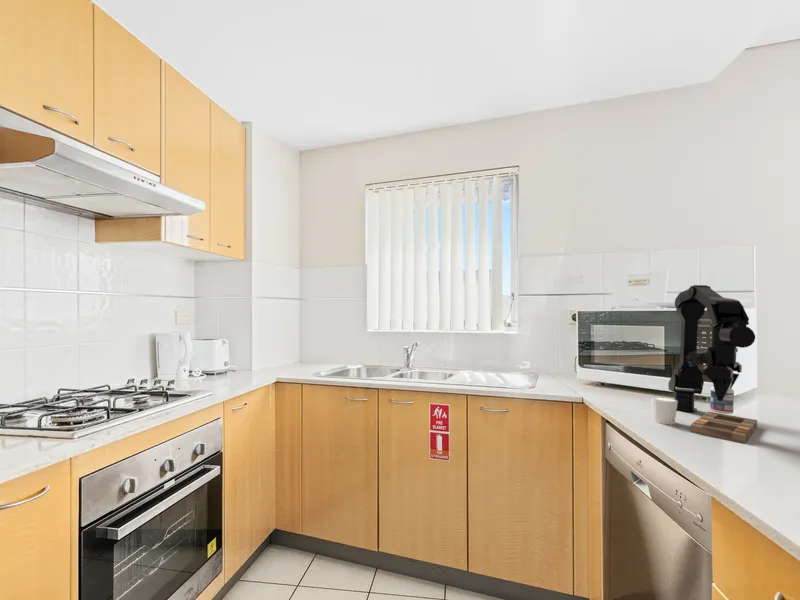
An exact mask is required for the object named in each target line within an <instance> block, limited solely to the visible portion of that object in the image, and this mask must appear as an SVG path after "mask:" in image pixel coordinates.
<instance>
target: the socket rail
mask: <svg viewBox="0 0 800 600" xmlns="http://www.w3.org/2000/svg"><path fill="white" fill-rule="evenodd" d="M757 427H758V419H752V418H747V417H743V416H742V417H741V416H736V415H731V414H724V413H718V412H714V411H707V412H706V413H705V414H703V415H702V416H701V417H699V418H697V419H696V420H694V421H693V422H692V423H691V424H690V433H693V432H695V433H694V434H698V433H699V434H700V435H703V434H704V436H708V437H712V436H713V438H717V437H718V439H722V438H723V440H728V441H732V442H737V443H742V444H746V442H747V441H748V439H749V438H750V437H751V435H752V434H753V433H754V432H755V430H756V429H757Z"/></svg>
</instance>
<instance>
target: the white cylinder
mask: <svg viewBox="0 0 800 600" xmlns="http://www.w3.org/2000/svg"><path fill="white" fill-rule="evenodd" d="M674 399H675V398H674ZM674 399H673V398H670V397H661V396H652V397H651V399H650V400H651V409H652V412H651V413H652V421H653V422H654V423H658V424H662V425H668V424H669V426H672V424H673V425H675V424H676V416H677V411H678V410H677V404H678V401H677V400H674Z"/></svg>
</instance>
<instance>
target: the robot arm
mask: <svg viewBox="0 0 800 600" xmlns="http://www.w3.org/2000/svg"><path fill="white" fill-rule="evenodd" d="M674 308H675V309H676V311H675V312H676V314H677V316H678V317H679V319H680V320H681V323H680V324H681V325H680V347H679V348H680V349H679V350H680V351H679V362H678V363H677V364H676V366H675V367H674V368H673V374H671V376H670V379H669V381H668V390H669V391H671V392H673V393H674V400H677V401H678V404H677V411H681V410H682V411H681V412H686V411H688V413H692V412H693V413H695V412H697V410H698V408H697V407H695V397H696V396H695V394H697V395H702V393H703V389H704V384H705V381H704V378H703V376H705V377H706V378H708V379H709V380H710V381H711V382H712V385H713V387H714V389H715V393H716V397H717V400H719V401H722V400H723V398H724V396H725V395H726V393H727V391H728V389H729V387H730V385H731V383H732V385H731V387H730V388H731V389H733V386H734V385H735V382H737V379H738V378H739V377H740V374H739V373H742V367H743V365H742V364H740V362H738V361H737V353H738V350H739V349H738V348H748V347H750V346H752V345H753V344H754V343H755V341H756V334H755V333H754V331H753V329H752V328H750V327H749V326H748V325H750V324H749V323H750V322H749V320H750V317H749V315H748V313H747V312H746V310H745V308H744V306H743V303H741V301H740V300H738V299H734V298H728V297H724V296H722V295H721V294H720V293H717V292H716V291H714V290H713V289H712V288H711V286H709V285H707V284H705V285H704V284H703V285H701V284H693V285H690V286H689V288H688V289H686V290H683V291H681V292H679V293H678V294H677V296H676V298H675V300H674ZM705 311H706V314H707V316H708V317H709V319H710V321H711V323H710V325H709V327H710V328H711V331H710V333H711V335H710V337H711V338H710V346H709V347H707V351H704V352H700V353H699V352H698V332H699V321H700V320H701V318H702V317H703V316H704V315H705ZM704 364H706V365H705V366H703V367H702V370H701V369H700V368H699V366H698V365H704ZM734 372H736V373H734ZM694 411H695V412H694Z"/></svg>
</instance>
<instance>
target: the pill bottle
mask: <svg viewBox="0 0 800 600" xmlns="http://www.w3.org/2000/svg"><path fill="white" fill-rule="evenodd" d="M731 385H732V383H731ZM731 385H730V387H731ZM730 387H729V389H728V391H727V393H726V395H725V396H724V398H723V400H722V401H719V400H717V397H716V393H715V389H714V386H712V387H711V388H710V404H709V406H710V407H709V408H710V409H709V410H710V411H711V412H714V413H719V414H725V415H731V414H734V398H735V397H734V396H735V390H734V389H733V388H730Z"/></svg>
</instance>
